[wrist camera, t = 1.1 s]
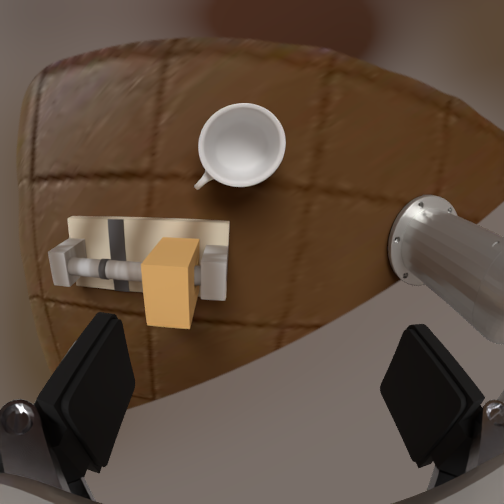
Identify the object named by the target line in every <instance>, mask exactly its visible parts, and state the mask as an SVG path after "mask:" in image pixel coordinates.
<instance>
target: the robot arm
mask: <svg viewBox="0 0 504 504" xmlns="http://www.w3.org/2000/svg"><path fill="white" fill-rule="evenodd" d="M388 257H389V261H390V265H391V267H392V269H393V271H394V272H395V274H396V275H397V276H398V277H399V278H400V279H401V280H402V281H404V282H406V283H408V284H411V285H424V284H425V285H427V286H428V287H429V288H430V289H431V290H433V291H434V292H435V293H436V294H437V295H438V296H440V297H441V298H442V299H443V300H444V301H445V302H446V303H447V304H449V305H450V306H451V307H452V308H453V309H454V310H455V311H456V312H458V313H459V314H460V315H461V316H462V317H463V318H464V319H465V320H466V321H468V323H470V324H471V325H472V326H473V327H474V328H475V329H476V330H477V331H478V332H479V333H480V334H481V335H482V336H483V337H485V338H486V339H487V340H489V341H491V342H493V343H496V344H504V237H503V236H501V235H499V234H497V233H494V232H492V231H490V230H488V229H486V228H483V227H481V226H479V225H477V224H474V223H472V222H470V221H467V220H465V219H463V218H460V217H458V216H457V213H456V211H455V210H454V208H453V206H452V205H451V204H450V203H449V202H448V201H446V200H445V199H443V198H441V197H438V196H434V195H423V196H420V197H417V198H415V199H414V200H412V201H410V202H409V203H408V204H407V205H406V206H405V207H404V208H403V209H402V210H401V212H400V213H399V214H398V216H397V218H396V220H395V221H394V224H393V226H392V229H391V232H390V236H389V241H388ZM134 388H135V378H134V374H133V370H132V366H131V362H130V358H129V353H128V349H127V344H126V339H125V334H124V329H123V324H122V321H121V320H119V319H118V318H117V316H116V315H115V314H109V313H102V312H98V313H97V314H96V316H95V317H94V318H93V319H92V321H91V322H90V323H89V325H88V326H87V327H86V329H85V330H84V331H83V333H82V334H81V335H80V337H79V338H78V339H77V341H76V342H75V343H74V345H73V346H72V347H71V349H70V350H69V352H68V353H67V354H66V356H65V357H64V359H63V360H62V361H61V363H60V364H59V366H58V367H57V369H56V370H55V371H54V373H53V374H52V376H51V377H50V379H49V380H48V382H47V383H46V385H45V386H44V388H43V389H42V391H41V392H40V394H39V396H38V397H37V400H36V402H35V403H34V405H33V404H32V403H30V402H29V401H27V400H22V399H20V400H13V401H10V402H8V403H6V404H5V405H4V406H3V407H2V408H1V410H0V504H102V503H98V502H96V500H95V499H94V497H93V495H92V493H91V491H90V489H89V487H88V485H87V483H86V481H85V478H84V476H85V473H86V470H87V469H88V470H91V471H94V472H97V473H100V470H101V467H102V466H103V467H105V466H106V465H107V464H108V461H109V458H110V455H111V452H112V449H113V446H114V443H115V440H116V437H117V434H118V432H119V429H120V426H121V423H122V421H123V418H124V415H125V412H126V410H127V407H128V404H129V402H130V399H131V396H132V394H133V391H134ZM380 391H381V394H382V396H383V399H384V401H385V403H386V405H387V407H388V409H389V411H390V413H391V415H392V417H393V419H394V422H395V423H396V426H397V428H398V430H399V432H400V435H401V437H402V439H403V441H404V443H405V446H406V448H407V450H408V452H409V455H410V457H411V459H412V460H413V461H414V462H416V464H417V466H418V468H421V467H423V466H426V465H429V464H431V463H432V461H434V463H435V467H434V471H433V474H432V477H431V480H430V483H429V485H428V488H427V491H425V492H423V493H420V494H418V495H415V496H413V497H410V498H407V499H404V500H401V501H399V502H396V503H393V504H504V391H503V392H502V393H501V395H500V396H499V398H498V399H497V400H489V401H488V402H487V403H485V405H484V406H483V408H482V407H481V405H480V404H481V403H482V402H483V400H484V399H485V397H484V395H483V394H482V393H481V391H480V390H479V389H478V387H477V386H476V385H475V383H474V382H473V381H472V380H471V378H470V377H469V376H468V375H467V373H466V372H465V371H464V370H463V368H462V367H461V366H460V365H459V363H458V362H457V361H456V360H455V358H454V357H453V356H452V355H451V354H450V352H449V351H448V350H447V349H446V348H445V347H444V345H443V344H442V343H441V342H440V341H439V340H438V338H437V337H436V336H435V335H434V334H433V333H432V332H431V330H430V329H429V328H428V327H427V326H426V325H424V324H416V325H410V326H409V327H408V328H407V329H406V330H405V331H404V332H403V334H402V337H401V339H400V342H399V345H398V347H397V349H396V352H395V354H394V356H393V359H392V361H391V363H390V366H389V368H388V370H387V372H386V374H385V377H384V379H383V381H382V383H381V386H380Z"/></svg>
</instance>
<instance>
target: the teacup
mask: <svg viewBox="0 0 504 504" xmlns="http://www.w3.org/2000/svg"><path fill="white" fill-rule="evenodd" d="M285 145H286V141H285V134H284V130H283V128H282V126H281V124H280V122H279V121H278V119H277V118H276V117H275V116H274V115H273V114H272V113H271V112H270V111H268V110H267V109H265V108H263V107H261V106H258V105H255V104H249V103H240V104H233V105H230V106H227V107H224V108H222V109H220V110H219V111H217V112H216V113H215V114H214V115H212V116H211V117H210V118H209V120H208V121H207V122H206V124H205V125H204V127H203V129H202V131H201V134H200V138H199V145H198V149H199V156H200V160H201V163H202V165H203V167H204V168H205V173H204V175H203V176H202V178H201V179H200V180H199V181H198V182H197V183H196V184H195V186H194V187H195V188H196V189H197V190H199V189H200V188H201V187H202V186H203V185H204V184H206V183H207V182H209V181H210V180H213V179H215V180H217V181H218V182H220V183H222V184H225V185H228V186H233V187H247V186H252V185H256V184H258V183H261V182H262V181H264V180H266V179H267V178H268V177H270V176H271V175H272V174H273V173H274V172H275V171H276V170H277V168H278V167H279V165H280V163H281V161H282V159H283V156H284V152H285Z"/></svg>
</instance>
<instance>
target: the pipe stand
mask: <svg viewBox="0 0 504 504" xmlns="http://www.w3.org/2000/svg"><path fill="white" fill-rule="evenodd" d="M229 223H230V221H222V220H201V219H177V218H148V217H105V216H72V217H70V218H68V228H69V239H67V240H66V241H64V242H63V243H61V244H59V245H58V246H56V247H55V248H53V249H52V250H50V251H49V252H48V255H49V261H50V266H51V272H52V277H53V282H54V285H59V286H67V287H70V286H71V285H72V284H73V283H74V282H76V284H77V286H85V287H94V288H103V289H113V290H115V291H125V292H129V291H133V292H143V284H142V273H141V263H142V262H143V261H144V260H145V258H146V257H147V256H148V255H149V253H150V252H151V251H152V250H153V248H154V247H155V246H156V245H157V244H158V242H159V241H160V240H161V239H162V237H171V238H192V239H200V249H199V266H197V265H195V267H194V285H195V286H199V294H198V297H201V299H205V300H222V301H225V298H226V288H227V264H228V243H229Z"/></svg>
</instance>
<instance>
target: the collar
mask: <svg viewBox="0 0 504 504" xmlns="http://www.w3.org/2000/svg"><path fill="white" fill-rule="evenodd" d="M199 249H200V239H192V238H171V237H162V239H161V240H160V241H159V242H158V244H157V245H156V246H155V247H154V248H153V250H152V251H151V252H150V253H149V255H148V256H147V257H146V258H145V260H144V261H143V262H142V263H141V273H142V284H143V294H144V303H145V312H146V320H147V325H150V326H160V327H170V328H182V329H190V327H191V322H192V318H193V314H194V310H195V306H196V302H197V298H198V294H199V286H195V285H194V267H195V265H197V266H199Z"/></svg>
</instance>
